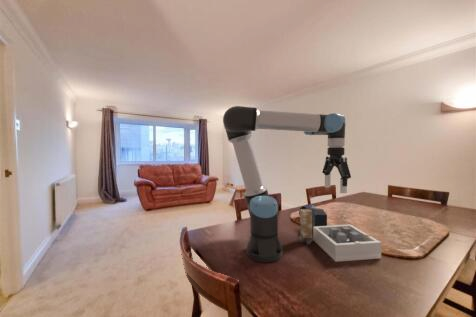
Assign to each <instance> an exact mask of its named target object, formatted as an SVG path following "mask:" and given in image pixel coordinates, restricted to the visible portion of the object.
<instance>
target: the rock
mask: <svg viewBox="0 0 476 317" xmlns="http://www.w3.org/2000/svg"><path fill="white" fill-rule="evenodd" d="M300 209H309V210H311V211H312V209H317V208H316V207H315V206H314V205H313V204H311V203H309V204H306V205H302V206H301V207H300V208H299V212H298V214H299V216H300Z"/></svg>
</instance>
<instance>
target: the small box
mask: <svg viewBox="0 0 476 317" xmlns="http://www.w3.org/2000/svg"><path fill="white" fill-rule="evenodd" d="M315 226H328V215H327V213H326V211H324V209H323V208H322V209H321V208H316V209H312V230H313V227H315Z"/></svg>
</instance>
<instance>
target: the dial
mask: <svg viewBox="0 0 476 317" xmlns="http://www.w3.org/2000/svg"><path fill="white" fill-rule="evenodd" d="M328 236H329V237H330V238H331V239H332V240H334V241H335V242H336V243H350V242H356V241H359V242H361V240H360V234H358V233H357V232H351V229H350V228H349V227H341V233H339V230H338V229H337V228H336V227H330V228H329V235H328Z"/></svg>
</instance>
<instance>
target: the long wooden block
mask: <svg viewBox="0 0 476 317" xmlns="http://www.w3.org/2000/svg"><path fill="white" fill-rule="evenodd" d="M299 211H300V215H299V217H300V218H299V220H300V221H299V224H300V228H299V229H300V231H299V234H300V235H299V240H298V241H299V242H300V243H306V245H311V243H313V242H314V240H313V229H312V211H311V210H309V209H300V208H299Z"/></svg>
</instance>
